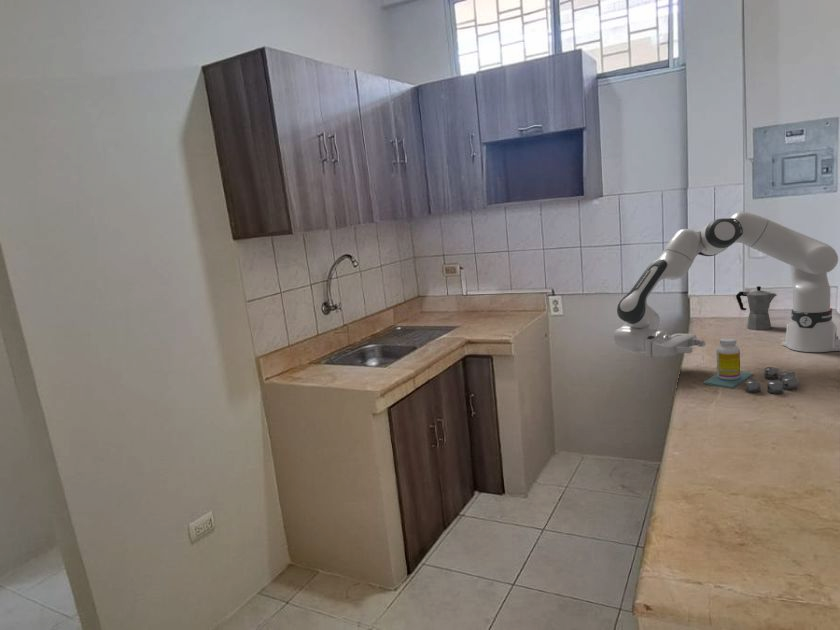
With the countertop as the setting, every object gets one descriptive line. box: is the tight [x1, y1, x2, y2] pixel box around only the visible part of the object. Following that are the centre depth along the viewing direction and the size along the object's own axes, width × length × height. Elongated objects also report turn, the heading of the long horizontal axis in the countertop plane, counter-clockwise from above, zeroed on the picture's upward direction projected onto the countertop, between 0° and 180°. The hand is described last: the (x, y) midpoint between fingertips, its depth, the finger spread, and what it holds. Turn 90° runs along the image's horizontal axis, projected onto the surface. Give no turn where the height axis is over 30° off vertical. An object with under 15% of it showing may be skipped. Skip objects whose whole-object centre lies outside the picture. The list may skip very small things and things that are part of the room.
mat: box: [703, 370, 755, 389], centre depth 183 cm, size 16×9×1 cm, turn 130°
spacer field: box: [744, 366, 799, 395], centre depth 172 cm, size 19×12×3 cm, turn 130°
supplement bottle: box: [716, 337, 741, 380], centre depth 182 cm, size 7×7×13 cm
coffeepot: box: [735, 285, 778, 331], centre depth 240 cm, size 15×9×18 cm, turn 44°
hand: (698, 347), depth 188 cm, fingers open, 8 cm apart
